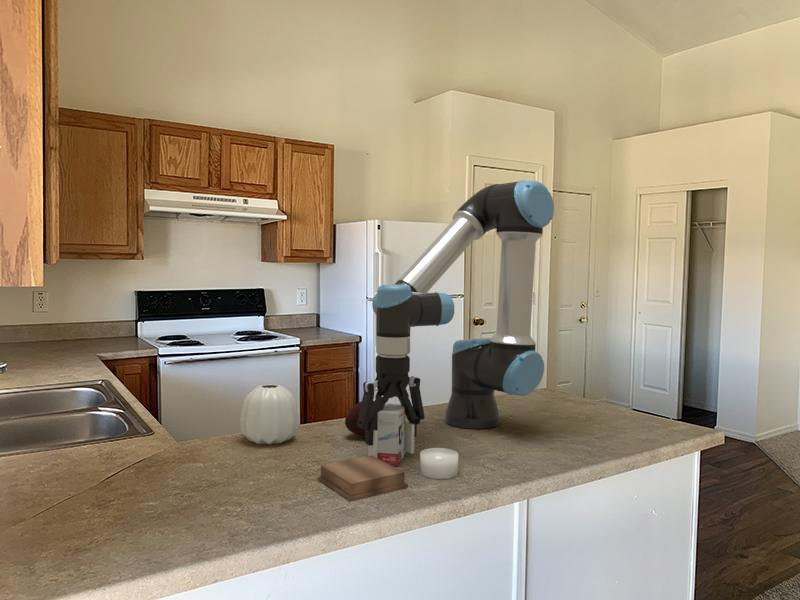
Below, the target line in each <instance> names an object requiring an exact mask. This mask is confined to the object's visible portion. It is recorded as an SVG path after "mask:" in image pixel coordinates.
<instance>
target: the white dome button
mask: <svg viewBox="0 0 800 600" xmlns="http://www.w3.org/2000/svg"><path fill="white" fill-rule="evenodd" d="M419 474H421V476H423V477H424V478H425V477H426V478H427V479H428V478H430V479H436V480H446V479H452V478H455V477H457V476H458V474H459V452H458V451H456V450H454V449H451V448H446V447H445V448H444V447H431V448H430V447H429V448H425V449H422V450H421V451H420V452H419Z"/></svg>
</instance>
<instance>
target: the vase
mask: <svg viewBox="0 0 800 600" xmlns="http://www.w3.org/2000/svg"><path fill="white" fill-rule="evenodd" d="M240 412H241V413H240V420H239V428H240V432H241V433H242V434H243V436H244V437H245V438H246V439H247V440H248V441H249V442H250V443H255V444H257V445H273V444H282V443H283V442H286V441H289V440H291V439H292V437H294V436H295V435H296V433H297V432H298V430H299V426H300V416H299V410H298V405H297V401H296V399H295V396H294V395H293V393H292V392H291V391H290V390H289V389H287V388H286V387H284V386H282V385H280V384H276V383H275V384H274V383H266V384H261V385H258V386H257V387H255V388H253V389H252V390H251V391H250V392H249V393H248V394H247V395H246V396H245V399H244V401H243V403H242V407H241V411H240Z"/></svg>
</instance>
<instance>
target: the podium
mask: <svg viewBox="0 0 800 600" xmlns="http://www.w3.org/2000/svg"><path fill="white" fill-rule="evenodd" d="M405 474H406V473H405V471H404V470H401V469H400V468H397V466H392V465H390V464H388V463H386V462H384V461H382V460H380V459H378V458H376V457H374V456H368V455H367V456H363V457H357V458H352V459H347V460H343V461H341V460H340V461H337V462H331V463H327V464H322V465H321V466H320V476H317V481H319V482H320V483H322V484H323V485H324V486H326V487H328V488H329V489H331V490H332V491H334V492H335V493H337V494H339V496H341V497H343V498H345V500H347V501H349V502H354V501H357V500H361V499H365V498H369V497H373V496H377V495H381V494H382V495H383V494H386V493H390V492H394V491H398V490H402V489H406V488H408V487H409V484H408V483H407V482H405Z"/></svg>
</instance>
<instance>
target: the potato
mask: <svg viewBox="0 0 800 600" xmlns="http://www.w3.org/2000/svg"><path fill="white" fill-rule="evenodd" d="M374 401H375V400H373V404H374ZM361 403H362V400H361V401H359V402H358V403H355V404H354V405H353V406H352V407H351V408H350V410H349V411H347V414H346V416H345V419H344V420H345V421H344V425H345V427H346V428H347V430H348V431H349V432H351V433H352V434H353V435H356V436H358V437H361V438H362V437H363V438H365V430H364V429H362V428H360V427H358V426H357V422H358V417H359V413H360V408H361ZM373 404H372V406H373ZM374 430H377V424H376V427H375V429H374Z"/></svg>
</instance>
